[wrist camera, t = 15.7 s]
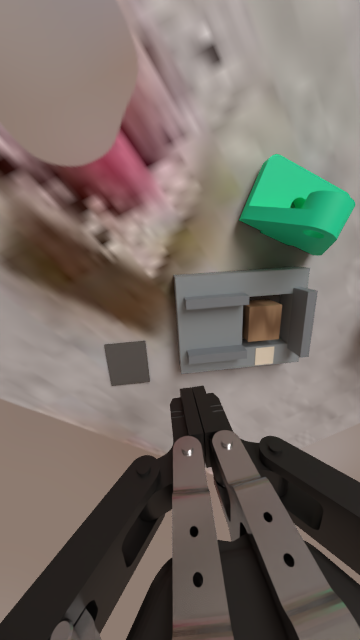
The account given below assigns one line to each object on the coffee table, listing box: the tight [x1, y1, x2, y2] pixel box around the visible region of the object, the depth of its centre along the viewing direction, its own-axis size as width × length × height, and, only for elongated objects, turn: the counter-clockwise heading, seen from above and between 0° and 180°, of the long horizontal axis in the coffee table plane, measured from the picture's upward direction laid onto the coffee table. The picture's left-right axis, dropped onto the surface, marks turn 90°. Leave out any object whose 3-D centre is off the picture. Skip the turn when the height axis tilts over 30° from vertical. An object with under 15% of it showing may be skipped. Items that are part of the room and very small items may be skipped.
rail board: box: [174, 267, 318, 374], centre depth 30 cm, size 14×18×6 cm
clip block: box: [242, 299, 282, 342], centre depth 31 cm, size 5×4×4 cm
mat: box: [104, 341, 150, 386], centre depth 33 cm, size 7×6×1 cm
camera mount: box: [239, 154, 355, 255], centre depth 24 cm, size 12×8×10 cm, turn 69°
